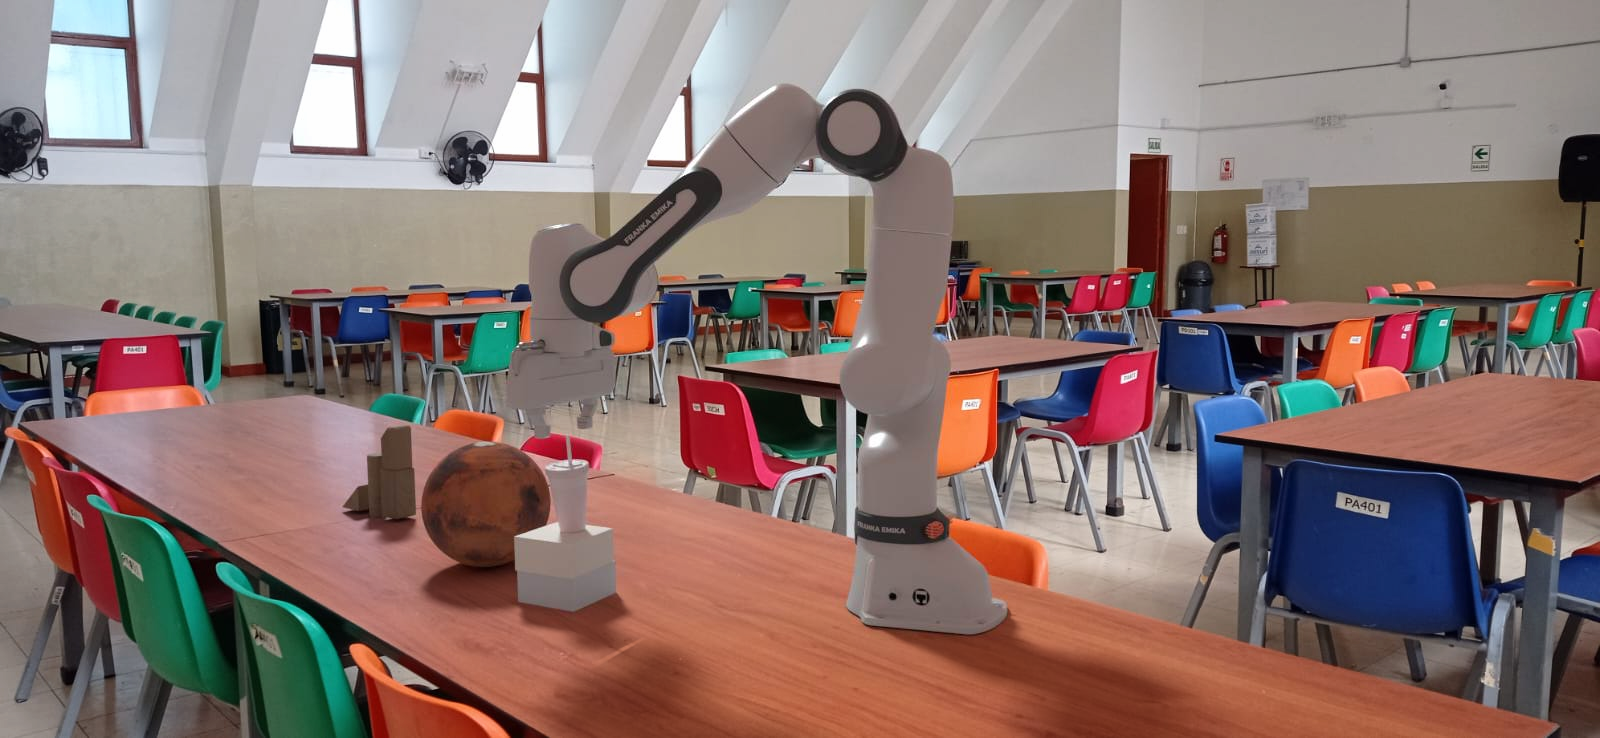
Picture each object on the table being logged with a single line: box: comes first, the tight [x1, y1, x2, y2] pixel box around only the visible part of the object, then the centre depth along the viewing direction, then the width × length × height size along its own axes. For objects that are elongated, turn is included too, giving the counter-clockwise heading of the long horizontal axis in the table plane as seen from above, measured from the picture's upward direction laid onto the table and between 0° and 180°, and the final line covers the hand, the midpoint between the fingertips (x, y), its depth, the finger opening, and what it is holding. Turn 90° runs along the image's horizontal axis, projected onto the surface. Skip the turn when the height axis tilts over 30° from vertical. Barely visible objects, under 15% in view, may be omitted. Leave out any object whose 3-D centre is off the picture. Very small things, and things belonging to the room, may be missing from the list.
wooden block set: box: [342, 424, 417, 520], centre depth 217 cm, size 17×6×18 cm, turn 55°
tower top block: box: [514, 521, 615, 579], centre depth 165 cm, size 10×10×5 cm
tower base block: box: [516, 560, 617, 613], centre depth 166 cm, size 10×10×5 cm
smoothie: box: [544, 434, 591, 533], centre depth 165 cm, size 6×6×14 cm
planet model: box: [420, 441, 552, 568], centre depth 182 cm, size 20×20×20 cm
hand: (564, 433), depth 164 cm, fingers open, 8 cm apart
